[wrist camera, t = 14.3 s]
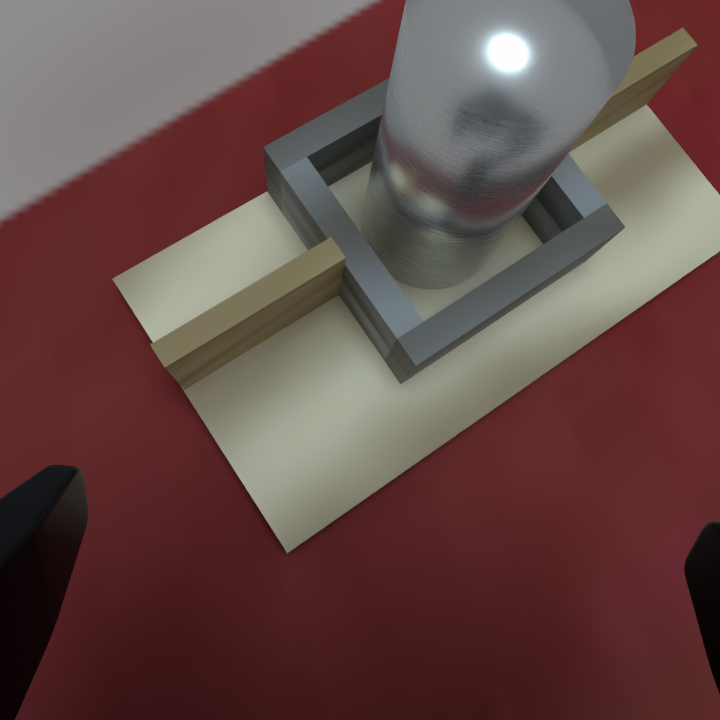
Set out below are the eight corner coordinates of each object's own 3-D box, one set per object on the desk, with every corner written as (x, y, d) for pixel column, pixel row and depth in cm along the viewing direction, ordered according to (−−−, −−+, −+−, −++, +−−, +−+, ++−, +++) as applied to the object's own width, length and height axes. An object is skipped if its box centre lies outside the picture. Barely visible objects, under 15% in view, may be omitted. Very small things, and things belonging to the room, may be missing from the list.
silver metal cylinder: (392, 308, 23) (463, 154, 13) (340, 186, 24) (369, -47, 14) (517, 263, 24) (675, 84, 14) (462, 146, 25) (574, -103, 15)
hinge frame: (731, 241, 26) (818, 187, 22) (287, 551, 22) (285, 561, 18) (566, 34, 28) (616, -55, 24) (119, 288, 24) (80, 238, 19)
